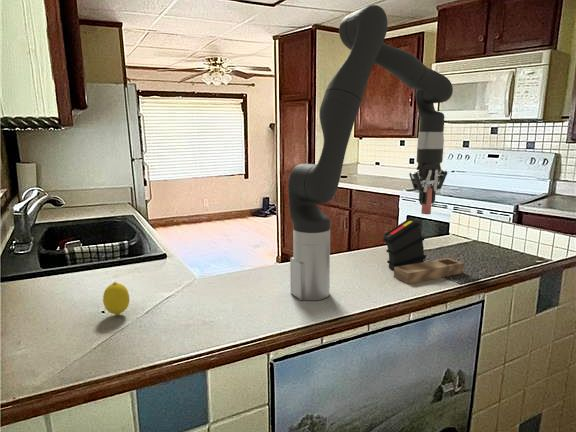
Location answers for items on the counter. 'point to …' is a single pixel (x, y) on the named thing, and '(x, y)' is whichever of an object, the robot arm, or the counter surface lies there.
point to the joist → (428, 270)
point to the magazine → (405, 244)
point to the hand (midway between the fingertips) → (426, 203)
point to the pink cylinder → (427, 201)
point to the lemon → (116, 298)
